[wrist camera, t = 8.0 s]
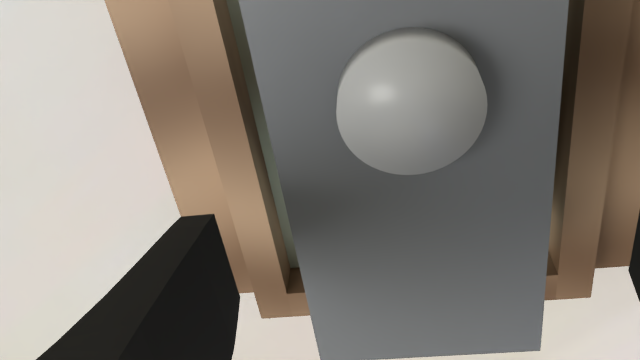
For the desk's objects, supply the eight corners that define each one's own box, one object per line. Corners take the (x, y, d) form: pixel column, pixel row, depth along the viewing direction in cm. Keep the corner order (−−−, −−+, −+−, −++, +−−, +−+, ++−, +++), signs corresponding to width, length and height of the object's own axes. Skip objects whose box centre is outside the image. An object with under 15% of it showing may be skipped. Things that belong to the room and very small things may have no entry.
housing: (498, 214, 18) (546, 372, 13) (329, 228, 18) (320, 383, 14) (504, -121, 13) (587, -60, 8) (272, -86, 13) (226, -9, 9)
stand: (622, 224, 20) (662, 292, 17) (220, 255, 22) (201, 322, 19) (711, -305, 12) (807, -326, 10) (77, -188, 14) (12, -178, 11)
